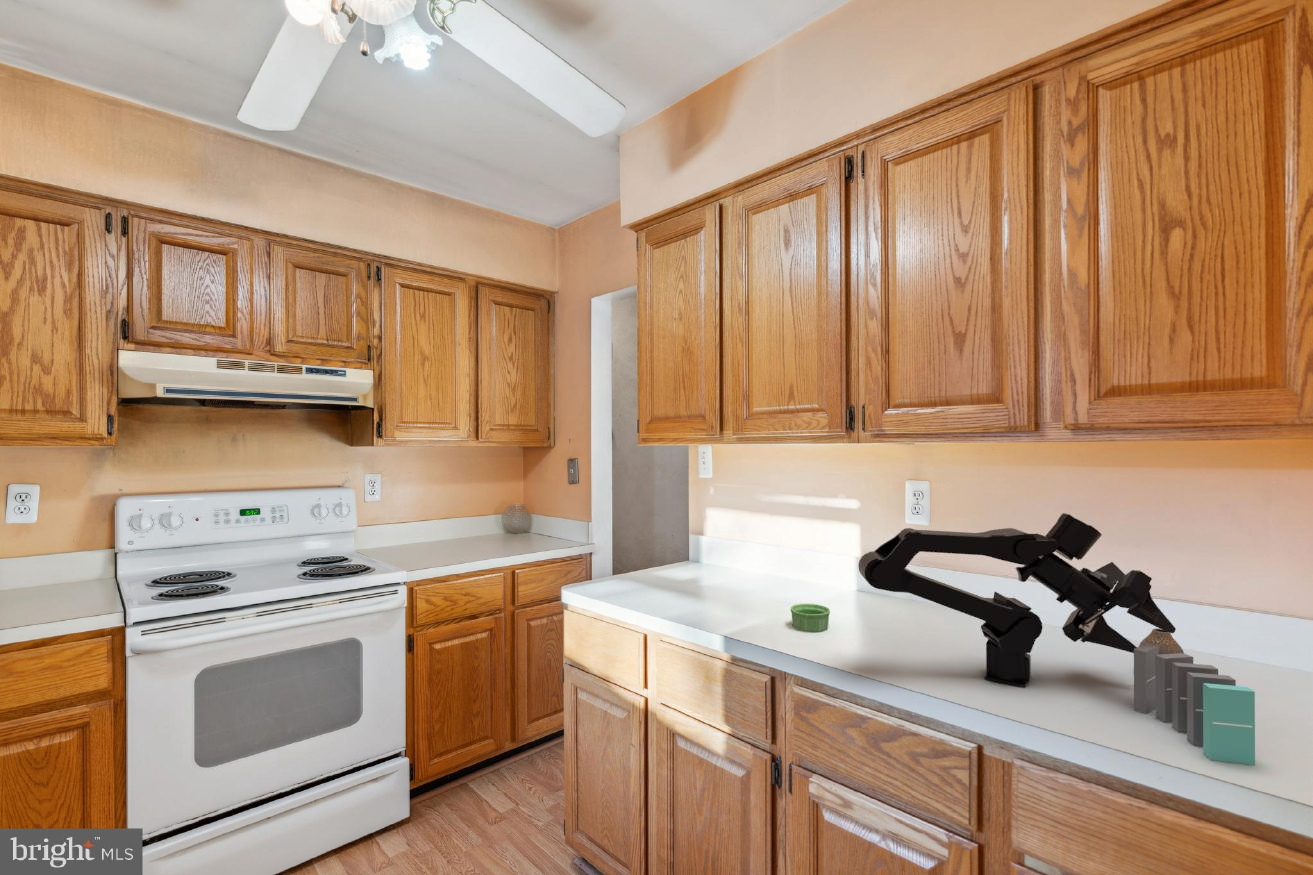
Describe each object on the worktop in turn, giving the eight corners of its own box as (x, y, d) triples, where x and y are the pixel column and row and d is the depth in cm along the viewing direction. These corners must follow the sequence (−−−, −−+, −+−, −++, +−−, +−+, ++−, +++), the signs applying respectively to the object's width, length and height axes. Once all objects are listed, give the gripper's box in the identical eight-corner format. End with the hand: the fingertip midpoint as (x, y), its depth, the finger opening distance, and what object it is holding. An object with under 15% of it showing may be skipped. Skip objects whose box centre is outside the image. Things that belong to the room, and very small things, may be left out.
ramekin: (782, 625, 144) (782, 606, 144) (811, 619, 148) (811, 601, 148) (808, 636, 136) (808, 616, 136) (838, 629, 140) (838, 610, 140)
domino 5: (1203, 754, 85) (1202, 683, 85) (1247, 758, 83) (1246, 686, 83) (1210, 760, 83) (1209, 687, 83) (1255, 765, 82) (1254, 691, 82)
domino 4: (1187, 740, 89) (1186, 672, 88) (1228, 744, 87) (1228, 675, 87) (1193, 745, 87) (1193, 676, 87) (1236, 750, 86) (1235, 679, 86)
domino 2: (1155, 717, 95) (1155, 654, 95) (1183, 715, 96) (1183, 653, 96) (1165, 722, 94) (1164, 658, 94) (1193, 720, 94) (1193, 656, 94)
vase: (1163, 670, 114) (1163, 623, 114) (1197, 685, 107) (1196, 636, 107) (1127, 671, 114) (1127, 624, 114) (1159, 686, 107) (1159, 637, 107)
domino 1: (1134, 710, 98) (1133, 649, 98) (1146, 702, 101) (1146, 643, 101) (1146, 714, 97) (1145, 652, 97) (1158, 706, 99) (1158, 645, 99)
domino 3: (1172, 727, 92) (1171, 662, 92) (1212, 731, 91) (1211, 665, 91) (1178, 732, 91) (1177, 666, 91) (1218, 736, 89) (1218, 669, 89)
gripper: (1112, 526, 106) (1210, 587, 99) (1053, 575, 120) (1134, 630, 113) (1088, 566, 100) (1190, 632, 94) (1029, 612, 115) (1113, 672, 108)
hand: (1155, 641), depth 102 cm, fingers open, 9 cm apart
